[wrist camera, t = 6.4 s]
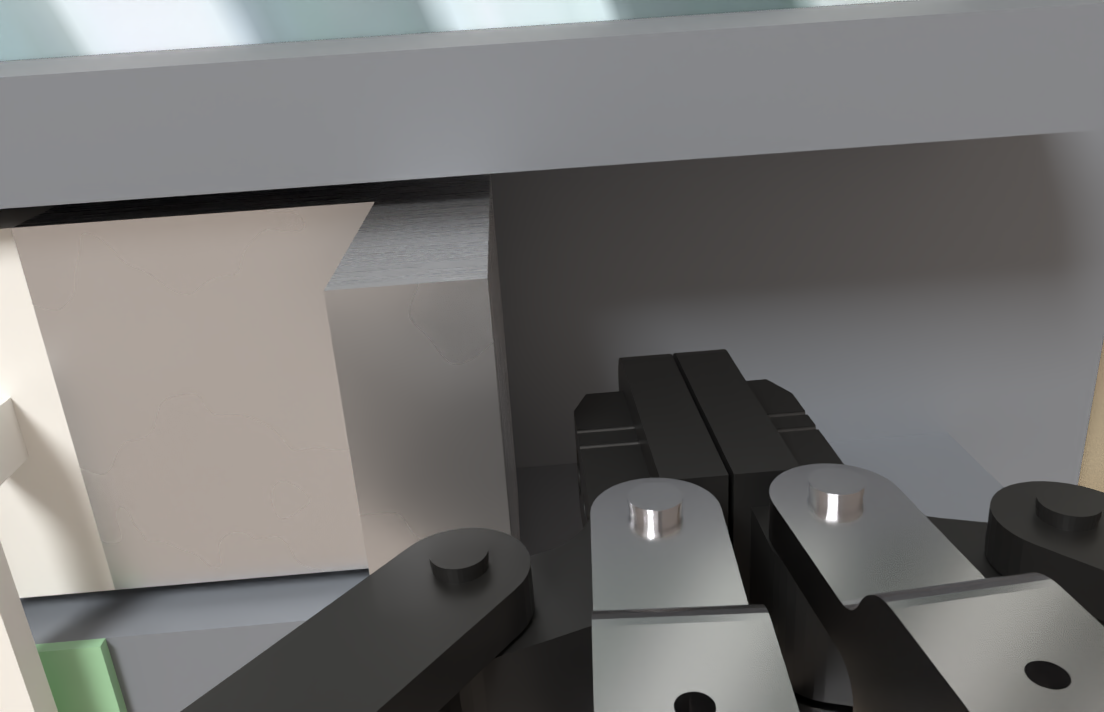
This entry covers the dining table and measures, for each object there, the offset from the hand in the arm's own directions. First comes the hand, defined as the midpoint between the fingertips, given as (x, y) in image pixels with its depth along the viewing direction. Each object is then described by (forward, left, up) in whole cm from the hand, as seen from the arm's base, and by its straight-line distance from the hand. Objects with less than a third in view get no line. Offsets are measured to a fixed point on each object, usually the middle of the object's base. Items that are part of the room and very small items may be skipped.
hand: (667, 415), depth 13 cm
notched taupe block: (0, -6, -5) cm, 7 cm away
